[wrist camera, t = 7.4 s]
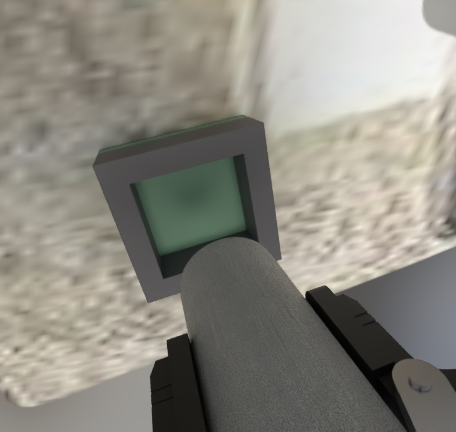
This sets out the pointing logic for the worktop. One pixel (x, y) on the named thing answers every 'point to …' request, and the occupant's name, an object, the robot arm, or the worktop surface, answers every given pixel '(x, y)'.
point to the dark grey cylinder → (269, 350)
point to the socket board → (188, 196)
